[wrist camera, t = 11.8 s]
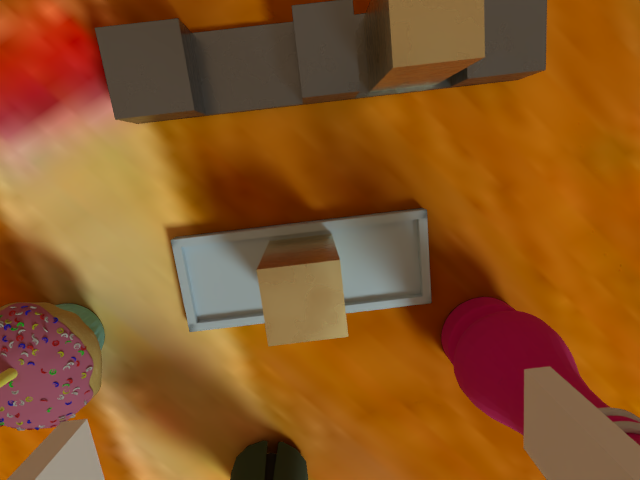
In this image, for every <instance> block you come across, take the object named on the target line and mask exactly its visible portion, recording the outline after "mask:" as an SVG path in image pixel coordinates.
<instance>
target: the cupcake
mask: <svg viewBox="0 0 640 480" xmlns="http://www.w3.org/2000/svg"><path fill="white" fill-rule="evenodd" d="M104 338H105V334H104V329H103V326H102V323H101V322H100V320H99V319H98V317H97V316H96V315H95V314H94V313H93V312H91V311H90V310H89V309H87V308H85V307H83V306H80V305H77V304H59V305H53V304H51V303H47V302H36V303H31V302H18V303H10V304H7V305H4V306H2V307H0V427H1V426H3V425H4V426H8V427H11V428H17V430H19V431H20V430H25V429H27V430H32V429H37V430H39V429H40V428H52V427H55V426H58V425H59V424H60V423H61V422H64V421H67V420H68V419H70V418H73V417H75V414H76V413H77V412H78V411H79V410H80V409H81V408H82V407H84V406H85V405H86V404H87V403H88V402H89V401H90V400H91V399H92V398H93V397H94V396H95V395H96V393H97V392H98V391H99V389H100V387H101V374H102V358H101V349H102V346H103V343H104ZM73 415H74V416H73Z"/></svg>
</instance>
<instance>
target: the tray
mask: <svg viewBox="0 0 640 480" xmlns="http://www.w3.org/2000/svg"><path fill="white" fill-rule="evenodd" d="M324 234H332V236H333V239H334V242H335V246H336V249H337V252H338V255H339V258H340V264H341V274H342V283H343V293H344V302H345V312H346V313H352V312H361V311H369V310H377V309H386V308H394V307H402V306H411V305H419V304H427V303H431V283H430V263H429V244H428V224H427V210H426V209H424V208H418V209H409V210H401V211H392V212H384V213H375V214H367V215H358V216H350V217H341V218H333V219H324V220H316V221H307V222H299V223H290V224H282V225H273V226H265V227H256V228H248V229H239V230H231V231H222V232H214V233H205V234H197V235H188V236H180V237H175V238H173V239H172V240H171V244H172V249H173V254H174V258H175V263H176V268H177V273H178V278H179V283H180V287H181V292H182V297H183V302H184V307H185V312H186V316H187V321H188V326H189V331H190V332H194V331H202V330H210V329H219V328H227V327H235V326H244V325H252V324H261V323H265V321H264V315H263V308H262V302H261V296H260V289H259V283H258V277H257V267H258V265H259V263H260V261H261V258H262V256H263V254H264V252H265V250H266V247H267V245H268V243H269V241H273V240H282V239H290V238H299V237H307V236H316V235H324Z"/></svg>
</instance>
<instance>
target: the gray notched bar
mask: <svg viewBox="0 0 640 480" xmlns="http://www.w3.org/2000/svg"><path fill="white" fill-rule="evenodd" d="M292 14H293V22H286V23H277V24H268V25H259V26H250V27H241V28H233V29H224V30H215V31H206V32H197V33H191V32H190V31H189V30H188V28H187V27H186V26H185V25H184V24H183V23H182V22H181V21H180V20H179V19H178V18H177V19H168V20H159V21H150V22H142V23H133V24H124V25H115V26H106V27H97V28H95V31H96V36H97V40H98V45H99V49H100V54H101V58H102V63H103V67H104V71H105V76H106V80H107V85H108V89H109V94H110V98H111V103H112V107H113V112H114V116H115V119H116V120H121V121H126V122H131V123H136V124H139V123H148V122H157V121H165V120H174V119H183V118H191V117H200V116H209V115H217V114H226V113H235V112H244V111H252V110H261V109H270V108H278V107H287V106H296V105H304V104H313V103H322V102H330V101H339V100H348V99H356V98H365V97H374V96H382V95H391V94H400V93H408V92H417V91H426V90H434V89H443V88H452V87H460V86H469V85H478V84H487V83H495V82H504V81H513V80H519V79H522V78H525V77H527V76H530V75H533V74H536V73H538V72H541V71H544V70H546V19H547V0H484V27H485V58H483V59H481V60H479V61H477V62H476V63H474V64H472V65H470V66H468V67H467V68H465V69H463V70H461V71H460V72H458V73H456V74H454V75H452V76H451V77H449V78H447V79H445V80H443V81H442V82H440V83H438V84H436V85H427V86H419V87H410V88H401V89H393V90H384V91H375V92H369V80H368V67H367V55H366V42H365V29H364V16H365V14H356V15H354V10H353V0H336V1H327V2H319V3H310V4H301V5H292Z"/></svg>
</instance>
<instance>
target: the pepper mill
mask: <svg viewBox="0 0 640 480" xmlns="http://www.w3.org/2000/svg"><path fill="white" fill-rule="evenodd" d="M441 341H442V346H443V350H444V352H445V354H446V355H447V357H448V358H449V360H450V361H451V363H452V364H453V365H454V373H455V376H456V379H457V381H458V384H459V386H460V388H461V389H462V390H463V392H464V393H465V394H466V396H467V397H468V398H469V399H470V400H471V401H472V402H473V404H474V405H475V406H476V407H478V408H479V409H480V410H482V411H483V412H484V413H486V414H487V415H488V416H490V417H491V418H493V419H495V420H497V421H498V422H500V423H502V424H504V425H506V426H508V427H510V428H512V429H514V430H516V431H517V432H519V433H521V434H522V435H524V369H531V368H540V367H549V366H550V367H551V368H552V369H553V370H555V371H556V372H557V373H558V374H559V375H560V376H561V377H563V378H564V379H565V380H566V381H567V382H568V383H569V384H570V385H572V386H573V387H574V388H575V389H576V390H577V391H578V392H580V393H581V394H582V395H583V396H584V397H585V398H586V399H587V400H589V401H590V402H591V403H592V404H593V405H594V406H595V407H597V408H598V409H599V410H600V411H601V412H602V413H603V414H604V415H606V416H607V417H608V418H609V419H610V420H611V421H612V422H614V423H615V424H616V425H617V426H618V427H619V428H620V429H621V430H623V431H624V432H625V433H626V434H627V435H628V436H629V437H631V438H632V439H633V440H634V441H635V442H636V443H637V444H639V445H640V418H638V417H637V416H635V415H634V414H632V413H630V412H628V411H626V410H622V409H617V408H610V407H609V406H608V405H606V404H605V403H604V402H602V401H601V400H600V399H599V398H598V397H597V396H596V395H595V394H594V393H593V392H592V391H591V390H590V389H589V388H588V386H587V385H586V384H585V382H584V381H583V380H582V378H581V377H580V375H579V372H578V369H577V366H576V364H575V361H574V359H573V356H572V354H571V352H570V350H569V349H568V347H567V346H566V344H565V343H564V341H563V340H562V338H561V337H560V336H559V335H558V334H557V333H556V332H555V331H554V330H553V329H552V328H551V327H550V326H548V325H547V324H546V323H545V322H543V321H542V320H541V319H539V318H537V317H535V316H533V315H531V314H528V313H525V312H520V311H516V310H515V309H513V308H512V307H511V306H509V305H508V304H506V303H505V302H503V301H501V300H498V299H495V298H491V297H479V298H474V299H471V300H468V301H466V302H464V303H462V304H460V305H459V306H457V307H456V308H455V309H454V310H453V311H452V312H451V313H450V315H449V316H448V318H447V319H446V321H445V323H444V326H443V329H442V334H441Z"/></svg>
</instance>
